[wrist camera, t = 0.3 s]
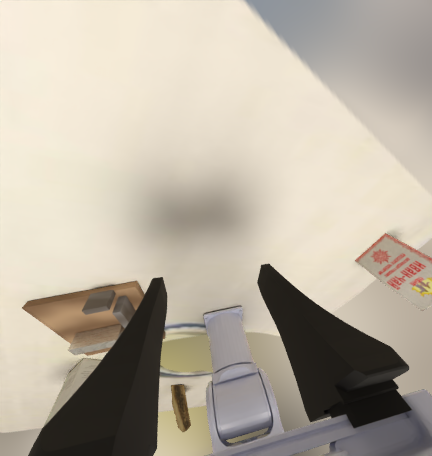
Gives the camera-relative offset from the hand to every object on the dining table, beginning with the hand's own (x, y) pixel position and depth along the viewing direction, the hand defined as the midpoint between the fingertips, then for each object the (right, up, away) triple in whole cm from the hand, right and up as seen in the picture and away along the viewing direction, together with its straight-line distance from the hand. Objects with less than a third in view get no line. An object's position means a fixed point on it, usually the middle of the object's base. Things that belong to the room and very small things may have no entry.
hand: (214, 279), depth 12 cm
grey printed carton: (+30, 0, +19) cm, 36 cm away
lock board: (-19, -12, +16) cm, 28 cm away
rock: (-13, -52, +44) cm, 69 cm away
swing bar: (-19, -14, +16) cm, 28 cm away
